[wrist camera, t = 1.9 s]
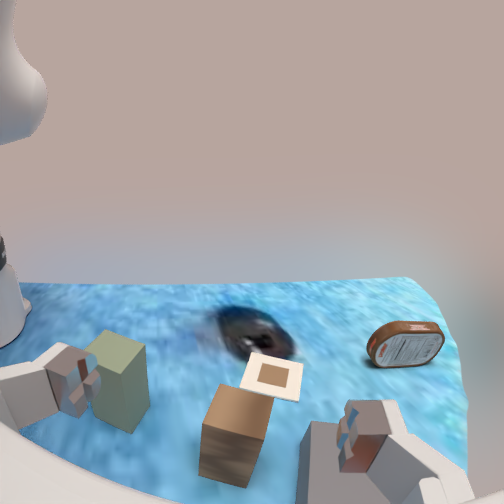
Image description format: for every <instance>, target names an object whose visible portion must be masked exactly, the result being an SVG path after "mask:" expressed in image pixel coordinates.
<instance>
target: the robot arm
mask: <svg viewBox="0 0 504 504" xmlns="http://www.w3.org/2000/svg"><path fill="white" fill-rule="evenodd" d="M15 5H16V0H0V145H3V144H7V143H10V142H14V141H17V140H20V139H23V138H26V137H29V136H31V135H32V134H33V133H34V131H35V130H36V129H37V128H38V126H39V125H40V123H41V121H42V119H43V117H44V114H45V111H46V107H47V100H48V95H47V88H46V84H45V81H44V79H43V78H42V76H41V75H40V73H39V72H38V71H36V70H35V69H34V68H33V67H31V66H30V65H29V64H28V63H27V62H26V61H25V59H24V58H23V56H22V55H21V53H20V51H19V49H18V47H17V44H16V41H15V37H14V31H13V18H14V10H15ZM31 309H32V306H31V303H30V301H28V300H27V299H25V298H23V297H22V294H21V291H20V287H19V283H18V278H17V274H16V271H15V269H14V268H13V267H12V266H11V265H9V264H7V263H6V250H5V245H4V241H3V238H2V237H1V236H0V347H2V346H4V345H6V344H8V343H9V342H11V341H12V340H13V339H15V338H16V337H17V336H18V335H19V333H20V332H21V330H22V329H23V327H24V323H25V318H26V316H27V314H28V313H29V312H30V311H31ZM97 365H98V362H97V358H96V356H95V355H94V354H92V353H89V352H87V351H84V350H81V349H78V348H76V347H73V346H70V345H67V344H64V343H62V342H58V343H56V344H55V345H53V346H52V347H51V348H49V349H48V350H47V351H46V352H44V353H43V354H42V355H41V356H39V357H38V358H37V359H36V360H34V361H33V362H29V361H28V362H24V363H19V364H15V365H10V366H6V367H1V368H0V504H183V503H179V502H175V501H171V500H168V499H164V498H161V497H157V496H154V495H151V494H148V493H144V492H141V491H138V490H136V489H133V488H130V487H127V486H124V485H122V484H119V483H116V482H114V481H111V480H109V479H106V478H104V477H101V476H99V475H97V474H94V473H92V472H90V471H87V470H85V469H83V468H81V467H79V466H77V465H75V464H73V463H70V462H68V461H66V460H64V459H62V458H61V457H59V456H57V455H55V454H53V453H51V452H49V451H47V450H46V449H44V448H42V447H40V446H38V445H37V444H35V443H33V442H32V441H30V440H28V439H27V438H25V437H23V436H22V435H21V434H20V432H19V429H21V428H23V427H26V426H28V425H30V424H33V423H35V422H37V421H40V420H42V419H44V418H46V417H49V416H51V415H53V414H55V413H57V412H59V411H61V412H63V413H66V414H68V415H71V416H73V417H76V418H78V419H79V417H80V416H81V415H82V414H83V413H84V411H85V410H86V409H87V408H88V403H87V402H89V401H92V400H94V399H95V398H96V397H97V395H98V394H99V391H100V388H101V378H100V374H99V373H98V372H97V370H96V369H95V368H96V367H97ZM344 411H345V416H344V417H343V418H341V419H340V422H339V425H338V429H337V434H336V442H337V447H338V448H339V449H340V450H341V451H340V454H339V456H338V461H339V470H340V473H366V475H367V476H368V477H369V478H370V480H371V481H372V482H373V483H374V484H375V485H376V487H377V488H378V489H379V490H380V491H381V492H382V493H383V495H384V496H385V497H386V498H387V499H388V500H389V501H390V503H391V504H504V489H502V490H499V491H496V492H493V493H491V494H488V495H485V496H482V497H478V498H475V496H474V493H473V491H472V488H471V486H470V483H469V481H468V479H467V476H466V474H465V471H464V470H463V469H461V468H460V467H459V466H457V465H456V464H454V463H453V462H451V461H450V460H449V459H447V458H446V457H444V456H443V455H442V454H440V453H439V452H437V451H436V450H435V449H433V448H432V447H430V446H429V445H428V444H426V443H425V442H424V441H422V440H421V439H420V438H418V437H417V436H415V435H414V434H409V433H408V430H407V428H406V425H405V422H404V420H403V417H402V415H401V412H400V410H399V407H398V404H397V402H396V401H395V400H350V399H349V400H348V401H347V403H346V406H345V408H344Z"/></svg>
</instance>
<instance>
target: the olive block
mask: <svg viewBox="0 0 504 504" xmlns="http://www.w3.org/2000/svg"><path fill="white" fill-rule="evenodd" d="M84 351H87V352H89V353H92V354H94V355H95V356H96V358H97V362H98V365H97V367H96V368H95V369H96V370H97V372H98V373H99V374H100V378H101V388H100V391H99V394H98V395H97V397H96V398H95V399H94V400H92V401H91V405H92V408H93V411H94V414H95V417H97V418H98V419H100V420H102V421H104V422H106V423H109V424H111V425H113V426H115V427H117V428H119V429H121V430H123V431H126V432H128V433H130V434H132V433H133V432H134V430H135V428H136V427H137V425H138V424H139V422H140V421H141V419H142V418H143V416H144V414H145V413H146V411H147V410H148V408H149V407H150V400H149V390H148V379H147V366H146V350H145V344H143V343H140V342H137V341H135V340H132V339H129V338H127V337H124V336H121V335H119V334H116V333H114V332H111V331H109V330H106V329H105V330H104V331H103V332H102V333H101V334H100V335H99V336H98V337H97V338H96V339H95V340H94V341H93V342H92V343H90V344H89V345H88V346H87V347H86V348H85V349H84Z"/></svg>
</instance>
